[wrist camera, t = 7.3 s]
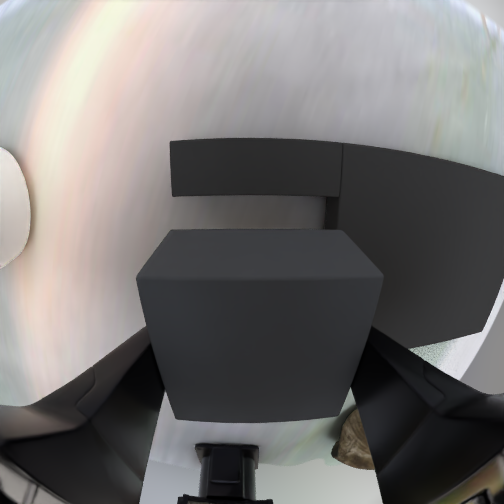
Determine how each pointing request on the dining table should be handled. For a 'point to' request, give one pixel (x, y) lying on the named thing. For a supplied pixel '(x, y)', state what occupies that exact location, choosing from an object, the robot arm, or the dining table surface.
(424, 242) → the u-shaped holder
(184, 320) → the pad
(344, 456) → the fossilized seashell
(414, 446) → the robot arm
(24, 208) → the beverage can
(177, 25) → the dining table surface
